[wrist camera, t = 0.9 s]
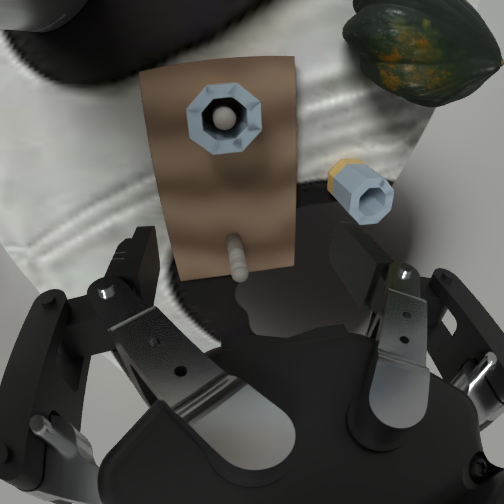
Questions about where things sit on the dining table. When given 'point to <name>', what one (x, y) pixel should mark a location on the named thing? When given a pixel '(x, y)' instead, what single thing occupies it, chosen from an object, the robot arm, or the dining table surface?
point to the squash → (423, 48)
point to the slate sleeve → (360, 191)
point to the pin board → (225, 167)
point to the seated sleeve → (231, 138)
